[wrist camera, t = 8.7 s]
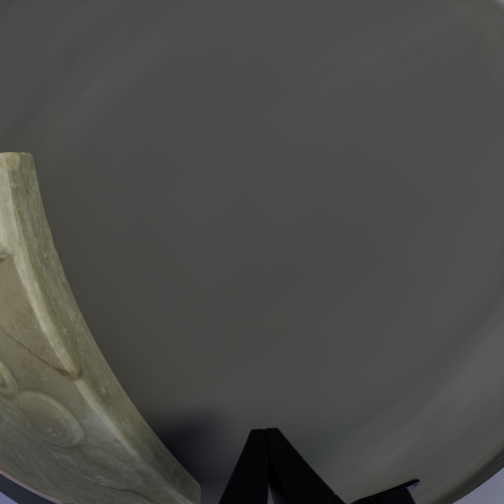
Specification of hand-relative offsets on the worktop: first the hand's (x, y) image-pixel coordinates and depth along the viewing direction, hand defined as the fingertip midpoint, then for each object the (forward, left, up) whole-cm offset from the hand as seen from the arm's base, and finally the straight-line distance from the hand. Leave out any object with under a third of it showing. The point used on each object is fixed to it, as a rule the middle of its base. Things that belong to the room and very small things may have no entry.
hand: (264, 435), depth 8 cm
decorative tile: (-2, +15, -4) cm, 15 cm away
